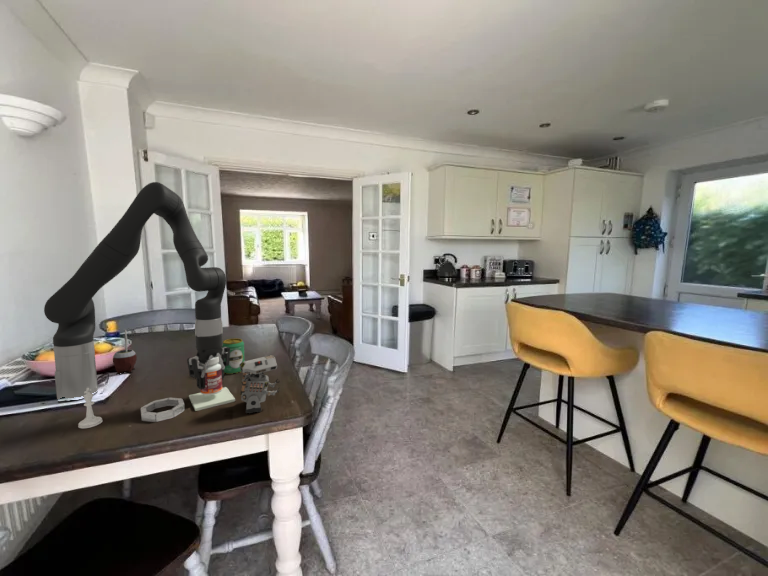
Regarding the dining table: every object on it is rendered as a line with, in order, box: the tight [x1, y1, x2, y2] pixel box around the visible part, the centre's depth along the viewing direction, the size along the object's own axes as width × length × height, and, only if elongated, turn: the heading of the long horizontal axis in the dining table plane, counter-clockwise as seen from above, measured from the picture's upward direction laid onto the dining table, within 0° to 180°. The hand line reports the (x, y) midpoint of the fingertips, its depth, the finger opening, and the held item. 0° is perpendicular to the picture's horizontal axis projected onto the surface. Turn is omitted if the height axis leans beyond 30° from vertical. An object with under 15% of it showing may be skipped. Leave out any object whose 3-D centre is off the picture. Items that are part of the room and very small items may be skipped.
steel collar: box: [140, 397, 185, 423], centre depth 96 cm, size 10×10×2 cm
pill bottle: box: [199, 357, 223, 396], centre depth 104 cm, size 6×6×11 cm
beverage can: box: [222, 337, 246, 375], centre depth 129 cm, size 8×8×12 cm
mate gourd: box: [112, 329, 138, 375], centre depth 126 cm, size 8×8×15 cm
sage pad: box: [188, 386, 236, 412], centre depth 105 cm, size 11×11×1 cm
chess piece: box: [77, 388, 103, 429], centre depth 89 cm, size 5×5×10 cm
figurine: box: [239, 354, 281, 414], centre depth 101 cm, size 9×12×15 cm
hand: (211, 384), depth 105 cm, fingers closed on pill bottle, 6 cm apart
